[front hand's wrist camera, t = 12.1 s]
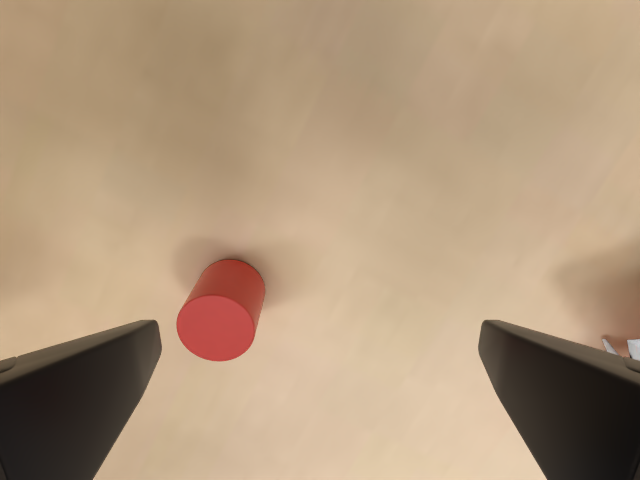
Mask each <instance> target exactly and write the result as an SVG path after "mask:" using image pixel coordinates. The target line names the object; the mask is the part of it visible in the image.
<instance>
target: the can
mask: <svg viewBox="0 0 640 480" xmlns="http://www.w3.org/2000/svg"><path fill="white" fill-rule="evenodd" d="M264 296H265V286H264V282H263V280H262V278H261V276H260V275H259V273H258V272H257V271H256V270H255V269H254V268H253V267H251V266H250V265H248V264H246V263H244V262H241V261H237V260H222V261H218V262H215V263H213V264H212V265H210V266H209V267H207V268H206V269H205V271H204V272H203V273H202V275H201V277H200V278H199V280H198V282H197V283H196V285H195V287H194V288H193V290H192V292H191V293H190V295H189V297H188V298H187V300H186V302H185V303H184V305H183V307H182V309H181V310H180V312H179V314H178V317H177V332H178V335H179V338H180V340H181V341H182V343H183V344H184V346H185V347H186V348H187V349H188V350H189V351H191V352H192V353H193V354H195V355H197V356H199V357H201V358H203V359H207V360H211V361H227V360H231V359H234V358H237V357H238V356H240V355H242V354H243V353H244V352H246V351H247V350H248V348H249V347H250V346H251V344H252V342H253V340H254V337H255V333H256V329H257V325H258V321H259V317H260V313H261V309H262V305H263V300H264Z"/></svg>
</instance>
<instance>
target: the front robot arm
mask: <svg viewBox="0 0 640 480" xmlns="http://www.w3.org/2000/svg"><path fill="white" fill-rule="evenodd" d="M161 350H162V345H161V339H160V332H159V326H158V323H157V321H155V320H140V321H136V322H133V323H130V324H126V325H123V326H119V327H116V328H113V329H109V330H106V331H102V332H99V333H96V334H92V335H89V336H85V337H82V338H78V339H75V340H72V341H68V342H65V343H61V344H58V345H55V346H51V347H48V348H44V349H41V350H38V351H34V352H31V353H27V354H24V355H20V356H18V357H17V358H16V357H12V358H8V359H5V360H1V361H0V480H93V478H94V477H95V475H96V473H97V472H98V470H99V468H100V467H101V465H102V463H103V462H104V460H105V458H106V457H107V455H108V453H109V452H110V450H111V448H112V446H113V445H114V443H115V441H116V440H117V438H118V436H119V435H120V433H121V431H122V430H123V428H124V426H125V425H126V423H127V421H128V420H129V418H130V416H131V415H132V413H133V411H134V410H135V408H136V406H137V404H138V403H139V401H140V399H141V398H142V396H143V394H144V392H145V390H146V387H147V385H148V383H149V381H150V378H151V376H152V374H153V371H154V369H155V367H156V364H157V362H158V360H159V358H160V355H161ZM478 350H479V355H480V358H481V360H482V362H483V365H484V367H485V369H486V371H487V374H488V376H489V378H490V381H491V383H492V385H493V387H494V390H495V392H496V394H497V396H498V398H499V399H500V401H501V403H502V405H503V406H504V408H505V410H506V411H507V413H508V415H509V416H510V418H511V420H512V421H513V423H514V425H515V426H516V428H517V430H518V431H519V433H520V435H521V436H522V438H523V440H524V441H525V443H526V445H527V447H528V448H529V450H530V452H531V453H532V455H533V457H534V458H535V460H536V462H537V463H538V465H539V467H540V468H541V470H542V472H543V473H544V475H545V477H546V478H547V480H640V361H639V360H635V359H632V358H628V357H624V358H623V357H622V356H620V355H616V354H613V353H609V352H606V351H602V350H599V349H596V348H592V347H589V346H585V345H582V344H579V343H575V342H572V341H568V340H565V339H562V338H558V337H555V336H551V335H548V334H544V333H541V332H538V331H534V330H531V329H527V328H524V327H521V326H517V325H514V324H510V323H507V322H504V321H500V320H485V321H483V323H482V326H481V332H480V338H479V345H478Z"/></svg>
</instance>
